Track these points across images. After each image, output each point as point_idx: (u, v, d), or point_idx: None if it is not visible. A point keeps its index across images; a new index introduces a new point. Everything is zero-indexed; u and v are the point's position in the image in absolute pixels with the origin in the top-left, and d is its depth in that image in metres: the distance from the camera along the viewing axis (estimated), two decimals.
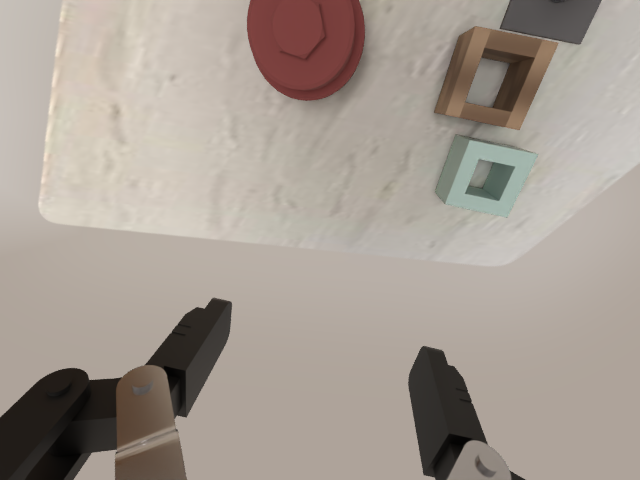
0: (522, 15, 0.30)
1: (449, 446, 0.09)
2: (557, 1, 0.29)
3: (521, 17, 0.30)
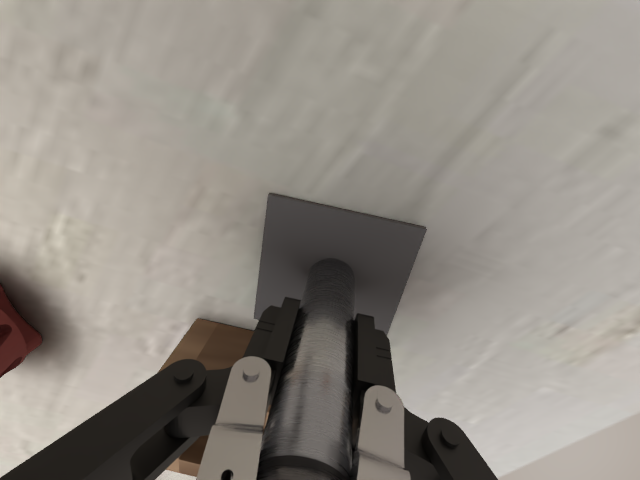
0: None
1: (360, 392, 0.10)
2: None
3: None
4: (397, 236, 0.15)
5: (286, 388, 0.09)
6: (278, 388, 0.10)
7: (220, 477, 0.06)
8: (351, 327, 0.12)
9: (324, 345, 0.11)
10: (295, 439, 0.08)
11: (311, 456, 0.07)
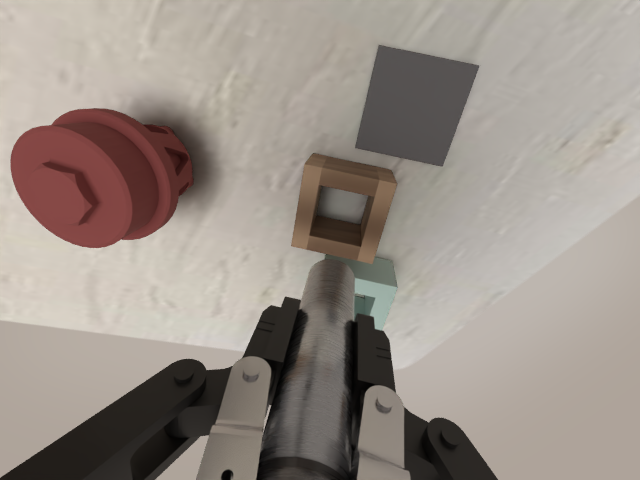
0: (375, 136, 0.27)
1: (360, 393, 0.10)
2: None
3: (374, 138, 0.27)
4: (460, 72, 0.24)
5: (286, 390, 0.09)
6: (278, 389, 0.10)
7: (220, 477, 0.06)
8: (351, 328, 0.13)
9: (324, 346, 0.11)
10: (294, 440, 0.08)
11: (310, 458, 0.07)
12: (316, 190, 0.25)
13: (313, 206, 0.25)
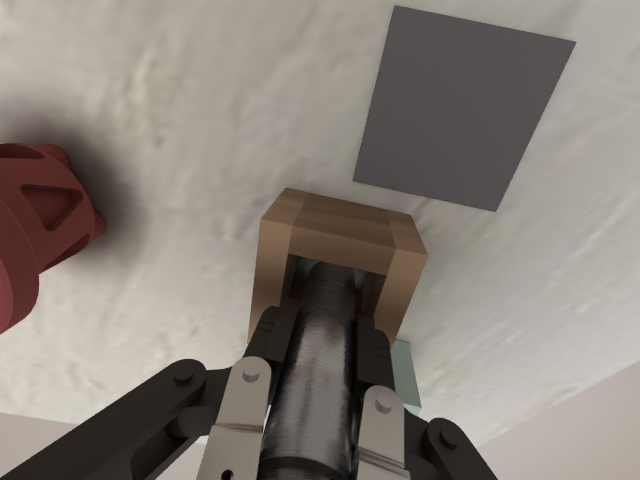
0: (386, 164, 0.16)
1: (360, 393, 0.10)
2: None
3: (385, 167, 0.16)
4: (539, 53, 0.14)
5: (286, 389, 0.09)
6: (278, 389, 0.10)
7: (220, 477, 0.06)
8: (351, 328, 0.13)
9: (324, 346, 0.11)
10: (294, 440, 0.08)
11: (310, 457, 0.07)
12: (284, 262, 0.14)
13: (280, 286, 0.15)
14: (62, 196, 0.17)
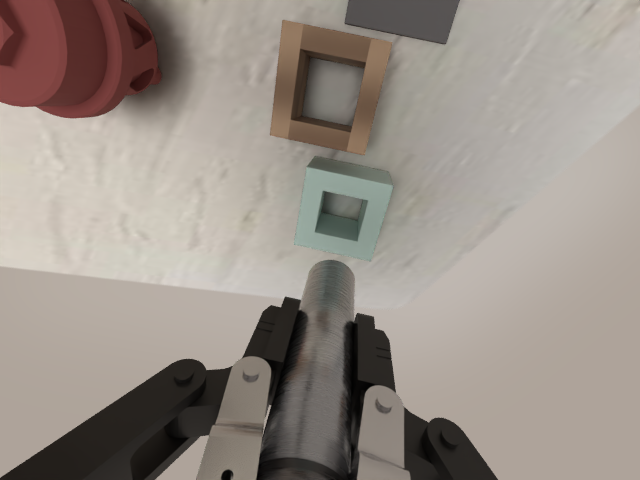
0: (368, 6, 0.23)
1: (360, 392, 0.10)
2: None
3: (367, 9, 0.23)
4: None
5: (286, 390, 0.09)
6: (278, 390, 0.10)
7: (220, 477, 0.06)
8: (350, 329, 0.13)
9: (324, 347, 0.11)
10: (294, 441, 0.08)
11: (310, 459, 0.07)
12: (297, 56, 0.21)
13: (294, 79, 0.22)
14: (137, 35, 0.24)
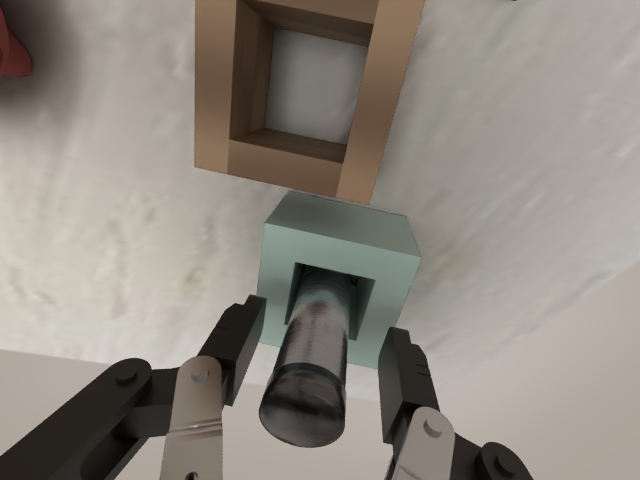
0: None
1: (404, 414, 0.10)
2: None
3: None
4: None
5: (295, 325, 0.12)
6: (288, 327, 0.12)
7: None
8: (348, 288, 0.15)
9: (325, 297, 0.13)
10: (302, 353, 0.10)
11: (315, 363, 0.10)
12: (232, 13, 0.10)
13: (230, 61, 0.11)
14: None
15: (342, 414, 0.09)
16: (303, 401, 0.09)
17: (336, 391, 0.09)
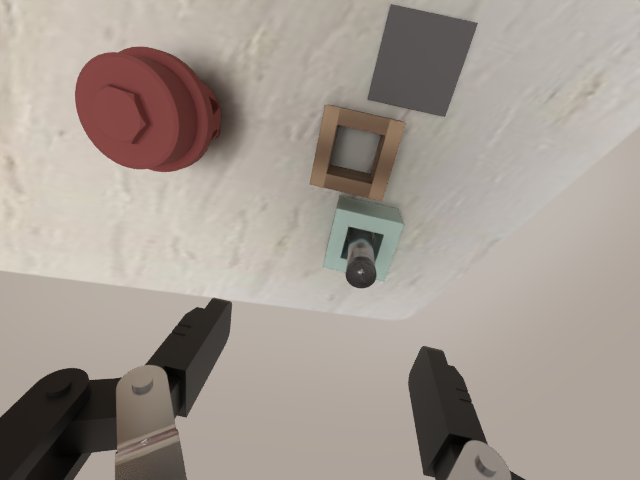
0: (386, 88, 0.30)
1: (449, 446, 0.09)
2: None
3: (385, 90, 0.31)
4: (461, 28, 0.28)
5: (353, 249, 0.29)
6: (350, 251, 0.30)
7: None
8: (371, 240, 0.33)
9: (363, 240, 0.31)
10: (359, 254, 0.28)
11: (365, 257, 0.27)
12: (334, 129, 0.28)
13: (331, 145, 0.29)
14: None
15: (375, 271, 0.27)
16: (362, 266, 0.27)
17: (373, 265, 0.27)
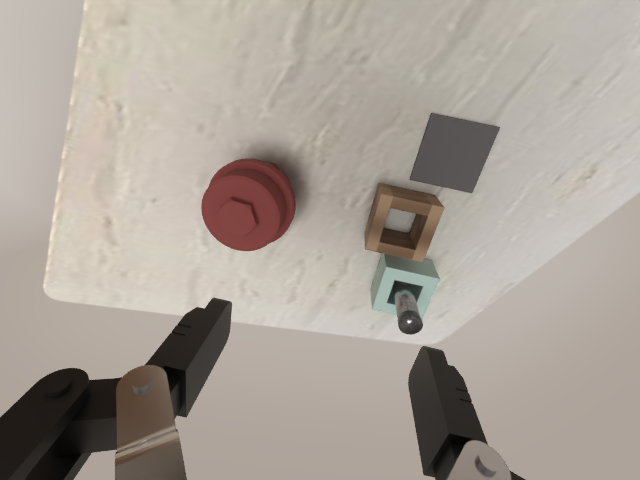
0: (425, 172, 0.38)
1: (449, 446, 0.09)
2: None
3: (424, 173, 0.38)
4: (486, 131, 0.36)
5: (401, 301, 0.38)
6: (398, 302, 0.38)
7: None
8: (412, 289, 0.41)
9: (408, 292, 0.39)
10: (408, 308, 0.36)
11: (413, 310, 0.36)
12: (387, 211, 0.36)
13: (384, 222, 0.37)
14: None
15: None
16: (412, 319, 0.35)
17: (420, 317, 0.35)
